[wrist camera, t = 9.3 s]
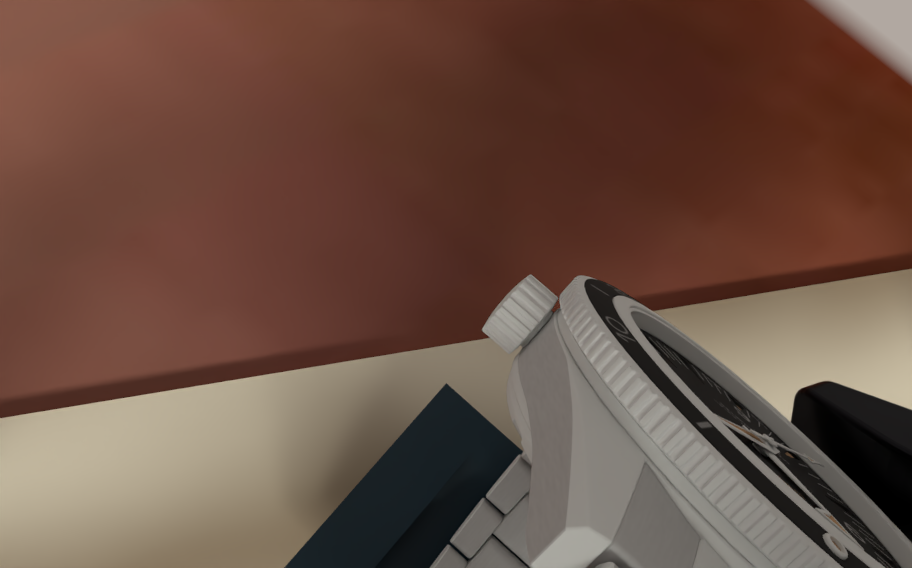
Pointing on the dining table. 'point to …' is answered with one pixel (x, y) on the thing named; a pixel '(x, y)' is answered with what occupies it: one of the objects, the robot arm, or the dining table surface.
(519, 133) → the dining table surface
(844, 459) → the robot arm
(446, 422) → the watch
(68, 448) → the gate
